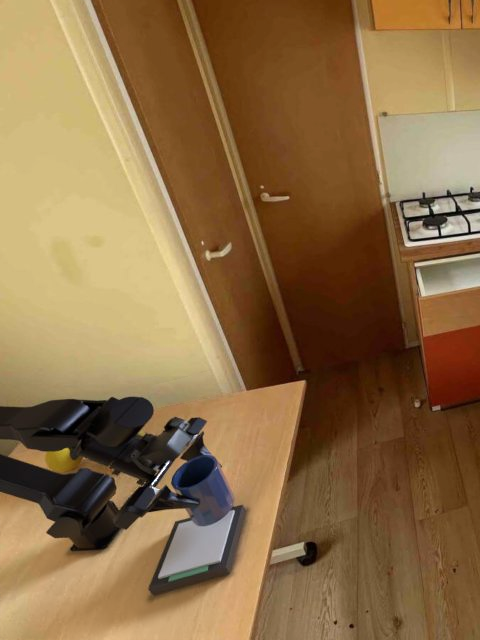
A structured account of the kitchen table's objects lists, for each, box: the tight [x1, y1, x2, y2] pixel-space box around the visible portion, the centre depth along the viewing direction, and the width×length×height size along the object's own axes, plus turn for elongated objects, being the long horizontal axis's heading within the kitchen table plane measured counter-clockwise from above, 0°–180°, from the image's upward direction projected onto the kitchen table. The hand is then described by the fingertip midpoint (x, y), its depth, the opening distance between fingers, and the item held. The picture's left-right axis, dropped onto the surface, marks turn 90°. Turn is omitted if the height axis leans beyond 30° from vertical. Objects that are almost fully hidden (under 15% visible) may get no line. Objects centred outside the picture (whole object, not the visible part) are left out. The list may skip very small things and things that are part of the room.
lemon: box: [44, 448, 84, 473], centre depth 94 cm, size 6×6×8 cm
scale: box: [147, 504, 247, 597], centre depth 80 cm, size 12×12×3 cm
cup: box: [170, 455, 235, 526], centre depth 79 cm, size 7×7×11 cm
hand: (209, 486), depth 79 cm, fingers closed on cup, 7 cm apart
